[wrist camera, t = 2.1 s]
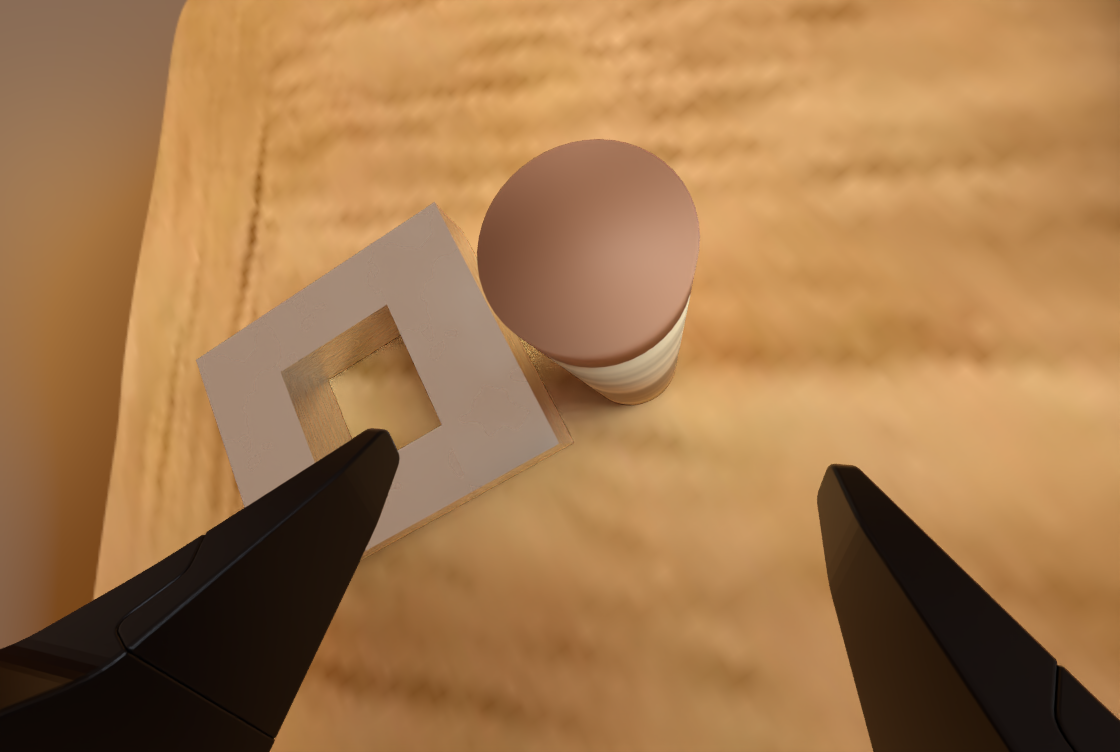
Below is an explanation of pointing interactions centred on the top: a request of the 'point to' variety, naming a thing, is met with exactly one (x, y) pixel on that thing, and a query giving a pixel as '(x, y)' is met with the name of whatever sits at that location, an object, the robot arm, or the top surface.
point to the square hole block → (358, 330)
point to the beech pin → (595, 263)
